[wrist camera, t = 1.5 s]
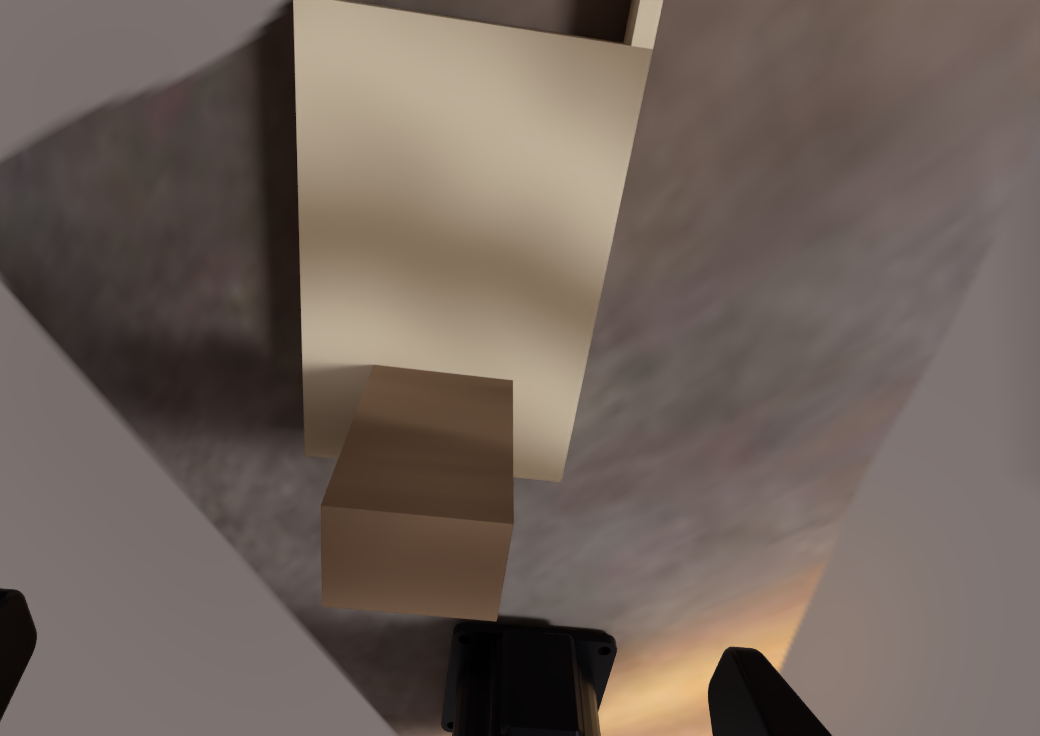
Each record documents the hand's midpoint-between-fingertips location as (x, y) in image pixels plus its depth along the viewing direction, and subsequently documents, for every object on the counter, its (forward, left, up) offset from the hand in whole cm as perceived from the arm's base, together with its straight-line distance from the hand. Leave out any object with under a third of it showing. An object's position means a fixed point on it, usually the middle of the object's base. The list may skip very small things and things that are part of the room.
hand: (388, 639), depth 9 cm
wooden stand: (+5, 0, -12) cm, 13 cm away
